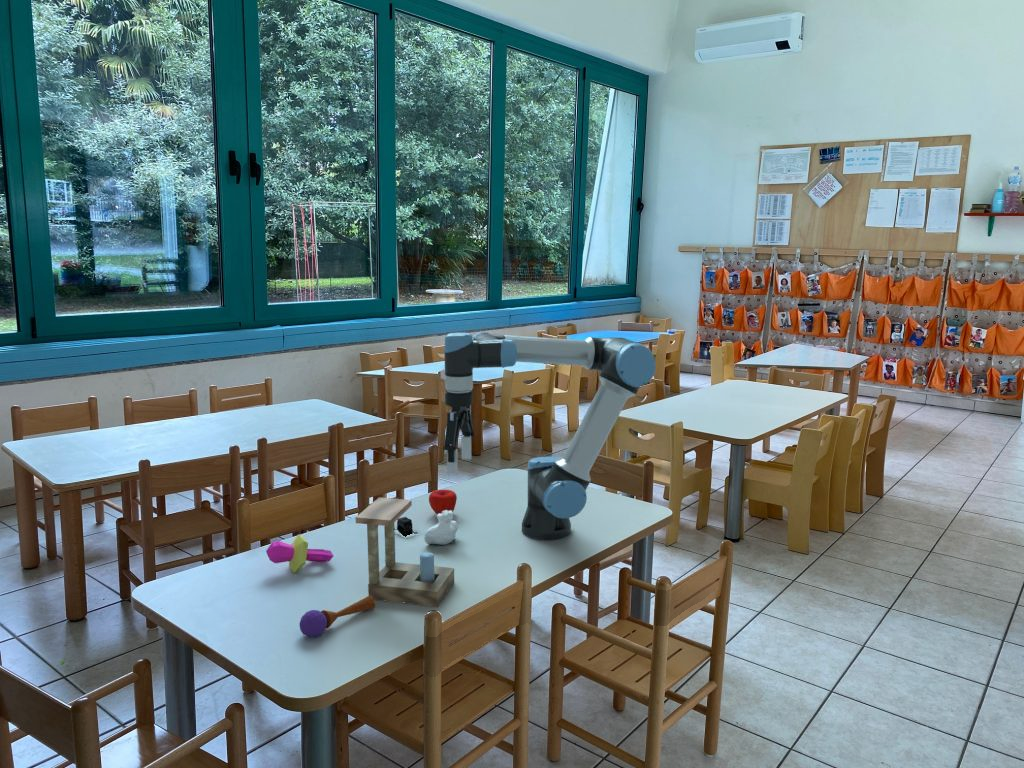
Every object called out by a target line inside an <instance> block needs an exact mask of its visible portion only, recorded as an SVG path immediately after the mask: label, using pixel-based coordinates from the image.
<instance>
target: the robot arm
mask: <svg viewBox="0 0 1024 768" xmlns="http://www.w3.org/2000/svg"><path fill="white" fill-rule="evenodd" d="M443 353H444V354H443V355H444V377H443V381H444V388H445V390H446V391H445V392H444V401H445V402H444V404H445V405H447V406H448V407H451V411H450V412H449V411H448V412H447V414H446V417H447V421H446V430H445V436H444V437H445V438H444V446H443V447H442V448H443V451H446V474H451V475H453V474H455V475H457V474H458V470H459V469H458V466H459V465H458V463H459V462H458V459H459V458H458V449H457V446H458V442H459V441H458V440H459V437H460V436H459V435H460V431H461V434H462V436H461V437H460V438H461V441H460V444H461V451H460V452H461V460H472V437H474V436H475V429H474V424H473V418H472V417H473V416H472V412H471V406H472V405H473V403H474V392H473V389H474V379H473V377H474V373H473V370H474V369H483V368H485V369H487V368H502V369H503V368H508V367H511V368H512V367H514V366H515V365H516V363H518V362H519V363H532V364H534V363H535V364H548V365H563V366H564V365H565V366H578V367H579V366H581V367H583V368H584V369H585V370H589V371H590V370H591V371H597V372H600V373H599V377H598V378H599V381H600V386H599V387H598V389H597V391H596V393H595V395H594V397H593V399H592V401H591V403H590V405H589V406H588V408H587V410H586V412H585V414H584V416H583V418H582V419H581V422H580V424H579V426H578V428H577V430H576V432H575V434H574V435H573V437H572V439H571V440H570V443H569V445H568V447H567V449H566V451H565V453H564V454H563V456H562V457H561V456H540V457H539V456H538V457H533V458H531V459H529V460H528V462H527V463H528V464H527V469H526V470H527V507H526V510H525V513H524V515H523V518H522V522H521V532H522V534H524V535H525V536H526V537H529V538H532V539H536V540H545V541H550V540H559V539H563V538H565V537H568V536H570V534H571V533H572V522H571V520H570V519H571V518H573V517H576V516H578V514H580V513H581V512H582V511H583V509H585V506H586V504H587V501H588V500H587V497H588V496H587V489H588V486H589V485H590V482H591V481H592V478H591V476H590V471H591V470H592V467H593V465H594V463H595V462H596V460H597V458H598V457H599V454H600V452H601V450H602V448H603V447H604V445H605V443H606V441H607V439H608V438H609V435H610V433H611V431H612V429H613V427H614V426H615V424H616V422H617V420H618V417H619V416H620V415H621V413H622V411H623V408H624V406H625V404H626V403H627V401H628V399H629V398H633V397H635V396H636V395H637V394H638V392H639V390H640V388H641V387H643V386H645V385H647V384H648V383H649V382H650V381H651V380H652V379H653V377H654V375H655V372H656V366H657V364H656V359H655V356H654V354H653V352H652V351H651V350H650V348H648V347H646V346H645V345H643V343H640V342H637V341H633V340H631V339H627V338H625V337H614V336H611V337H591V336H589V337H587V338H586V339H582V340H581V339H569V338H568V339H567V338H552V337H538V336H537V337H536V336H524V335H522V336H521V335H509V334H506V335H505V334H495V333H494V334H492V333H489V332H483V331H481V332H478V333H475V334H474V335H473V334H472V333H468V332H451V333H450V332H449V333H447V334H446V335H445V336H444V349H443Z"/></svg>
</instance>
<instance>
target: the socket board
mask: <svg viewBox="0 0 1024 768" xmlns="http://www.w3.org/2000/svg"><path fill="white" fill-rule="evenodd" d="M379 578H380V581H379V582H378V583H377V584H370V583H369V582H368V584H367V588H368V589H367V591H368V596H372V597H373V598H374V599H377V600H376V601H380V600H386V601H385V602H389V601H395V602H394V603H398V602H405V603H404V604H407V603H413V604H412V605H416V604H420V605H419V606H425V605H426V607H435V608H438V607H439V605H440V604H441V602H442V601H443V600H444V599H445V597H446V596H447V594H448V592H449V591H450V589H451V588H452V586H453V585H454V583H455V567H448V566H447V567H446V566H445V567H444V566H438V565H437V566H436V565H434V579H435V581H434V583H431V582H421V581H420V564H419V563H418V564H416V563H409V562H408V563H407V562H397V561H395V564H394V565H393V566H386V564H385V565H384V567H383V568H382V569H381V570H379ZM427 605H428V606H427Z"/></svg>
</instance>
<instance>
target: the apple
mask: <svg viewBox="0 0 1024 768" xmlns="http://www.w3.org/2000/svg"><path fill="white" fill-rule="evenodd" d="M457 500H458V497H457V493H456V492H455V491H453V490H451V489H436V490H433V491H431V492H430V494H429V496H428V502H429V506H430V508H431V509H432V510H433V512H434V513H435V514H436V516H437V515H438V514H439V513H440V514H441V513H442V511H445V510H447V511H450V510H452V512H453V513H454V511H455V509H456V508H455V507H456V504H457Z"/></svg>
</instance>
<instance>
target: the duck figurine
mask: <svg viewBox="0 0 1024 768" xmlns="http://www.w3.org/2000/svg"><path fill="white" fill-rule="evenodd" d="M435 518H437V520H438V522H437V523H436V524H435V525H433V526H431V527H429V528H428V529H427V530H426V532H425V534H424V537H423V539H424V542H425V544H427V545H434V544H435V545H443V546H445V545H448V544H450V543H451V542H452V541H453V540H454V539H455V538H456V534H457V531H458V529H459V524H458V523H457V521H455V520H453V519H454V511H453V512H452V510H450V511H447V510H445V511H442V513H441V514H440V513H439V514H438V515H437V514H436V517H435Z"/></svg>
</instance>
